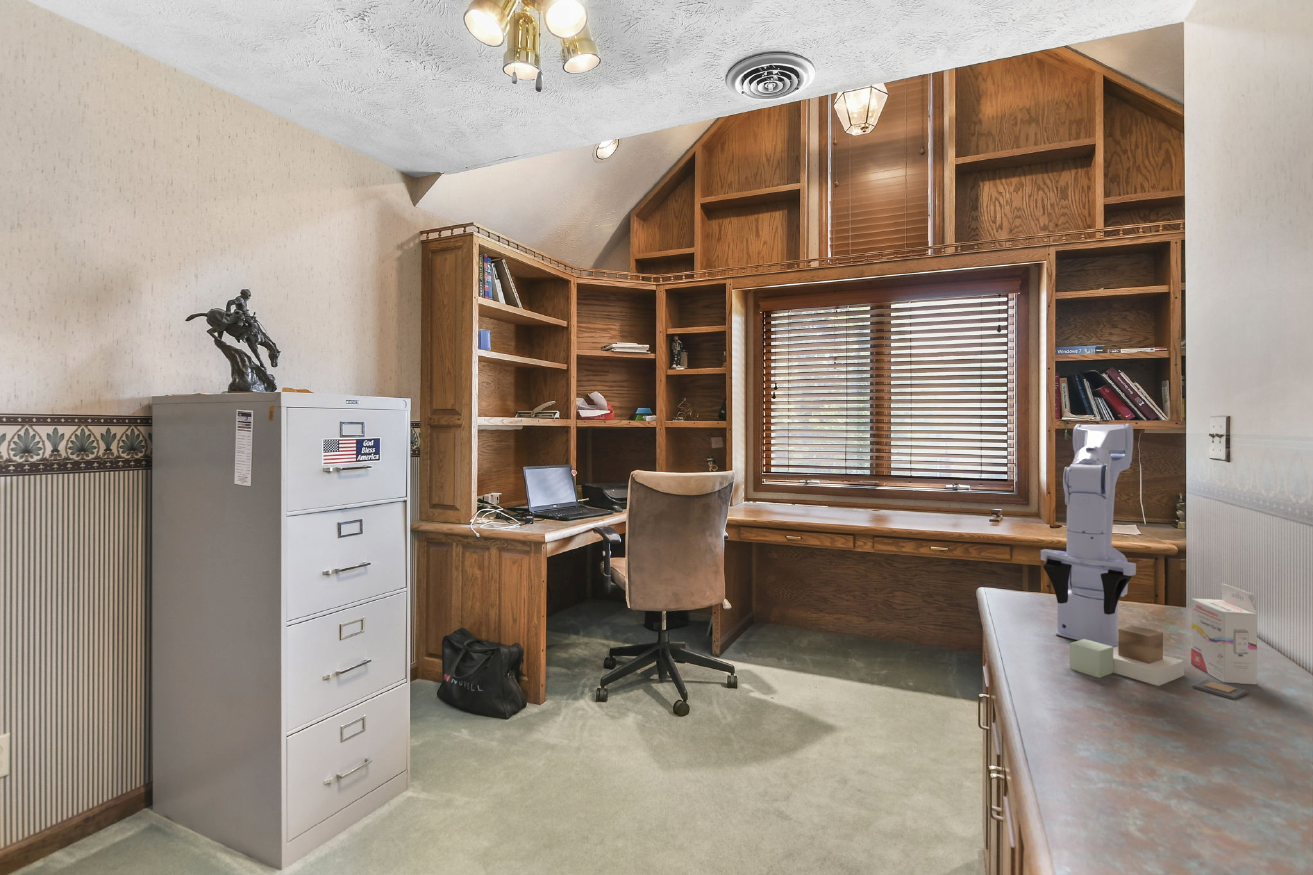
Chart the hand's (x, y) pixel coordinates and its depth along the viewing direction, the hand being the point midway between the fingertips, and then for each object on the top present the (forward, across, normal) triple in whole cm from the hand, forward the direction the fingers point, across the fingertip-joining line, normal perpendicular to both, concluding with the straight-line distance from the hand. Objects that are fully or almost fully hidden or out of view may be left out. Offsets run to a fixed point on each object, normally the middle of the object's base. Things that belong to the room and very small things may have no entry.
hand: (1085, 607), depth 109 cm
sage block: (+10, +3, -4) cm, 11 cm away
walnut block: (+7, +7, +3) cm, 10 cm away
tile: (+9, +17, +5) cm, 20 cm away
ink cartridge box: (+10, +14, +14) cm, 22 cm away
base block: (+10, +7, +3) cm, 13 cm away
